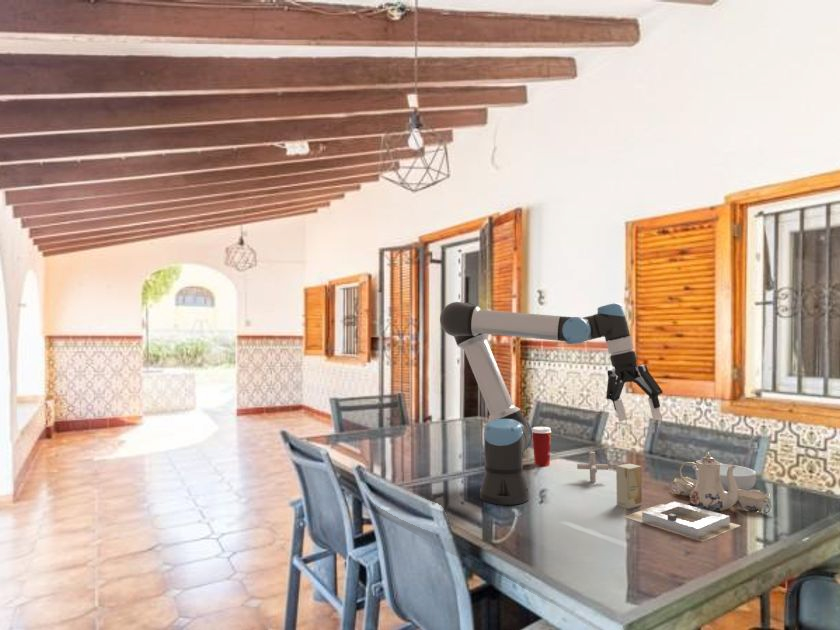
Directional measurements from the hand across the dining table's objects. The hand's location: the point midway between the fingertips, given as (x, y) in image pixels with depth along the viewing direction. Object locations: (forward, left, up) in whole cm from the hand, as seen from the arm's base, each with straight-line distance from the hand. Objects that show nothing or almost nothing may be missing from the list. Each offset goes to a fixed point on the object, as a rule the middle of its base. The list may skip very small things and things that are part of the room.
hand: (639, 419), depth 169 cm
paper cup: (+7, +47, -24) cm, 54 cm away
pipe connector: (+3, +20, -24) cm, 32 cm away
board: (-12, -20, -24) cm, 33 cm away
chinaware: (+9, -18, -24) cm, 31 cm away
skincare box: (-11, -4, -24) cm, 27 cm away
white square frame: (-13, -22, -23) cm, 34 cm away
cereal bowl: (+27, -12, -24) cm, 38 cm away
